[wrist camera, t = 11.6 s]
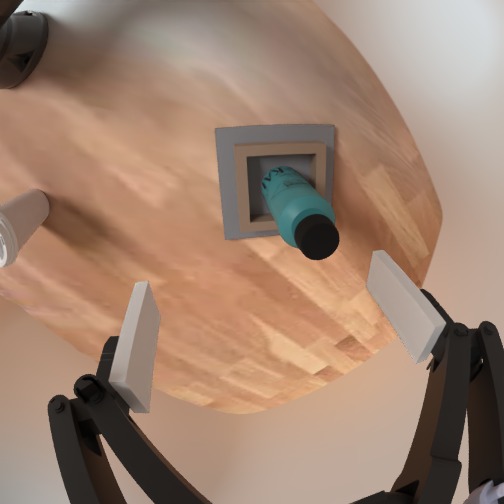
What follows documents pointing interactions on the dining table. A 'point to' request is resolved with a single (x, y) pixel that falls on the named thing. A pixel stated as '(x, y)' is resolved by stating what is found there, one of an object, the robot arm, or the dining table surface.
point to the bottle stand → (260, 162)
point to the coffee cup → (20, 222)
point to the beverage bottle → (300, 213)
